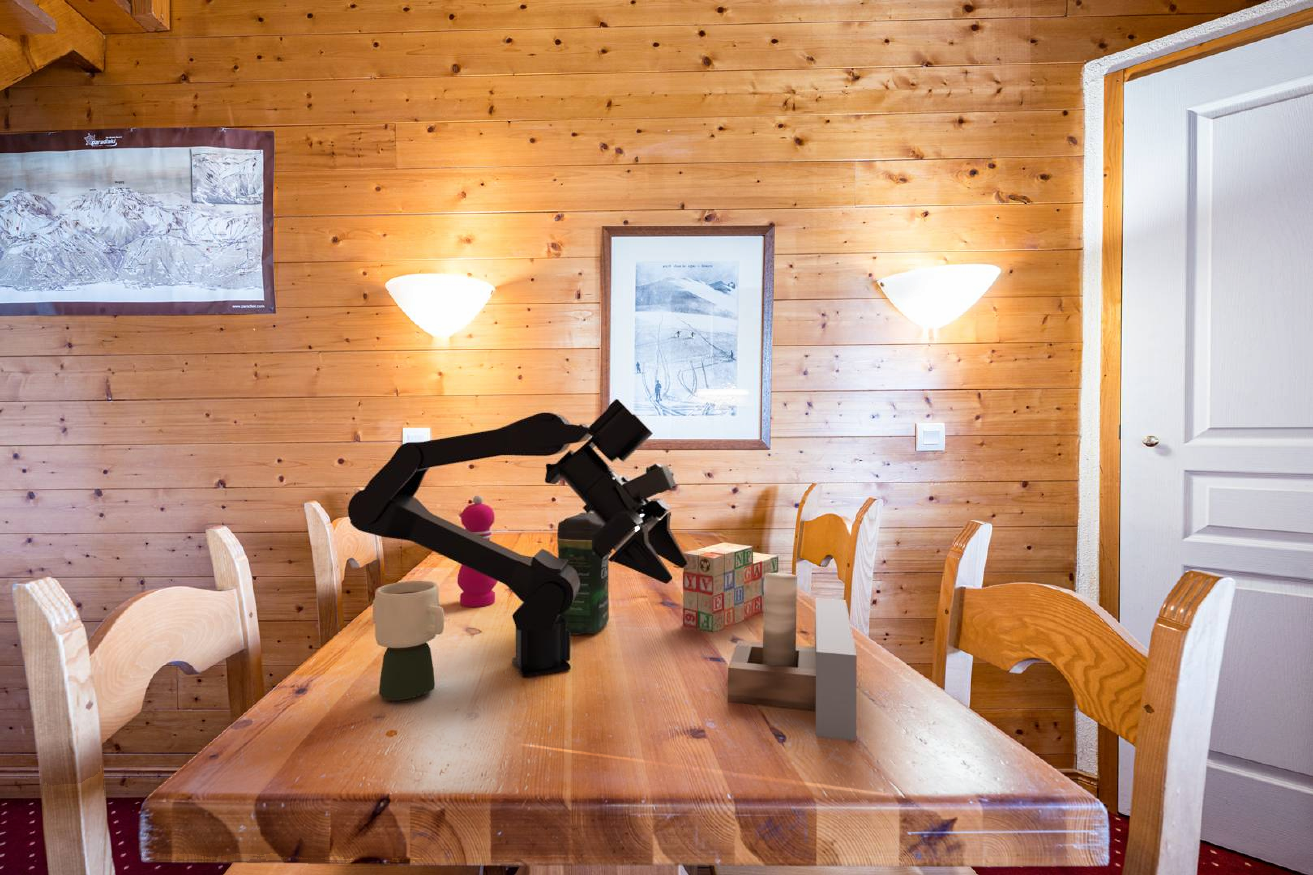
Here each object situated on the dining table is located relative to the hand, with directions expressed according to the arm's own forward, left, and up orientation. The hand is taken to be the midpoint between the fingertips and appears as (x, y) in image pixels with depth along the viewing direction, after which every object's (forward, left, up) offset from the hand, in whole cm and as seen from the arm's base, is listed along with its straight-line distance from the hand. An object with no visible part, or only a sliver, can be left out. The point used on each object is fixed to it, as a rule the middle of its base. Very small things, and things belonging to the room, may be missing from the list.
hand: (677, 573), depth 81 cm
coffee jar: (-4, +25, -14) cm, 29 cm away
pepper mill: (-17, +47, -14) cm, 52 cm away
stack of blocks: (+22, +21, -14) cm, 33 cm away
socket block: (+9, -9, -13) cm, 18 cm away
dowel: (+9, -9, -12) cm, 18 cm away
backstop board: (+14, -13, -13) cm, 24 cm away
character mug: (-32, +9, -14) cm, 36 cm away
